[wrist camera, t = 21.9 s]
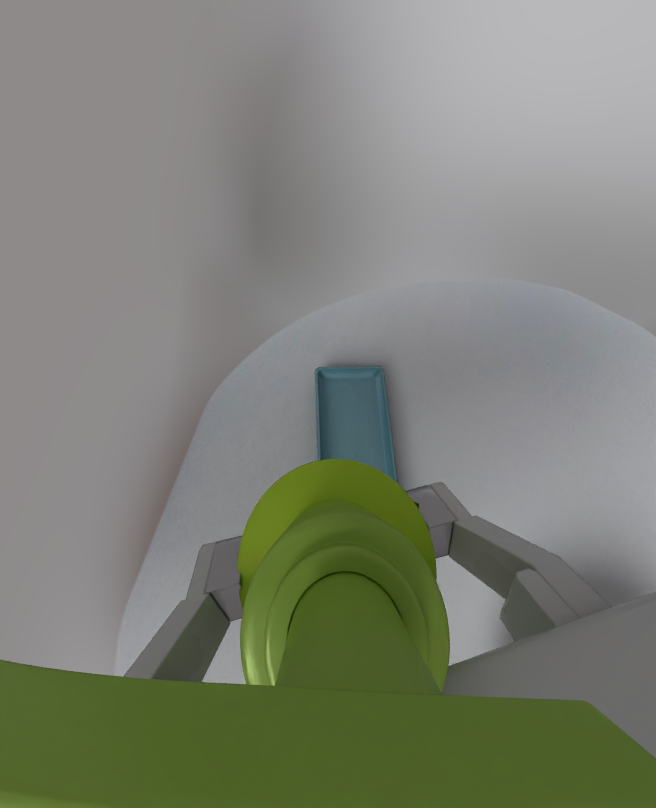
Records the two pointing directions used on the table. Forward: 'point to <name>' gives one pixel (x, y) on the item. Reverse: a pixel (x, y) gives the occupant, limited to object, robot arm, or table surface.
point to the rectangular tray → (354, 417)
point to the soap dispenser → (316, 691)
